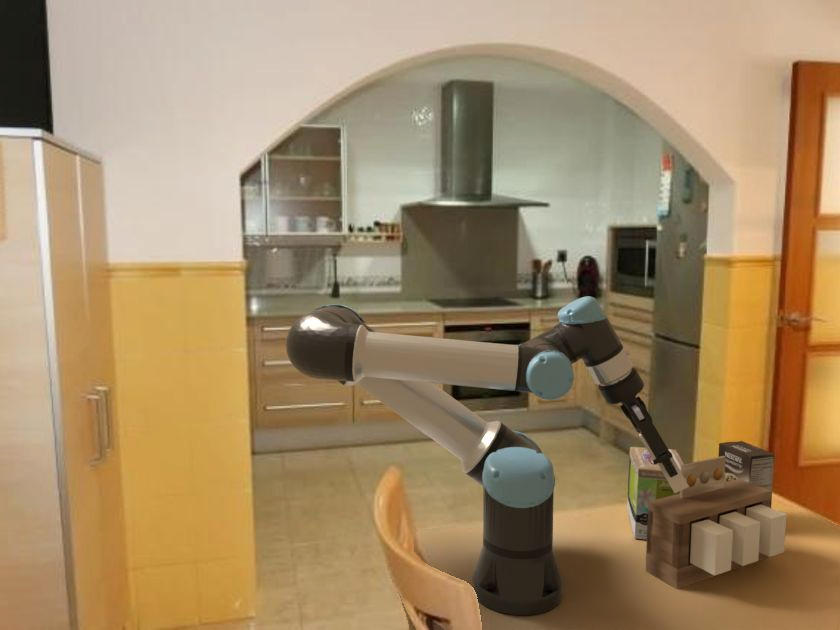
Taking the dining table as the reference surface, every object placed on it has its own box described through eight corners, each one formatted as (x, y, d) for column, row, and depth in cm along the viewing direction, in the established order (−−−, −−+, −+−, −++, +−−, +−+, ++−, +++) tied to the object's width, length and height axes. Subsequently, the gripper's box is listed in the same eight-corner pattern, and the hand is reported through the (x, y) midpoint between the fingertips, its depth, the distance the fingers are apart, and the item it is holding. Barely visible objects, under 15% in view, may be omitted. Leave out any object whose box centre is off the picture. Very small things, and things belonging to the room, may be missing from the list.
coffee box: (713, 515, 145) (717, 442, 143) (737, 511, 147) (741, 439, 145) (745, 532, 136) (750, 455, 134) (771, 528, 138) (775, 452, 136)
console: (645, 570, 121) (649, 469, 119) (735, 542, 132) (740, 448, 130) (676, 588, 115) (681, 481, 112) (768, 557, 126) (774, 459, 123)
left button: (689, 562, 116) (691, 523, 115) (706, 557, 117) (707, 519, 117) (714, 575, 111) (716, 535, 110) (730, 570, 113) (732, 530, 112)
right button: (744, 545, 122) (746, 508, 121) (758, 540, 124) (760, 504, 123) (769, 556, 118) (771, 518, 117) (784, 551, 119) (786, 514, 119)
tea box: (687, 544, 131) (690, 471, 130) (633, 540, 133) (636, 468, 132) (673, 513, 146) (676, 447, 144) (625, 509, 148) (628, 444, 146)
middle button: (717, 553, 119) (719, 515, 118) (733, 548, 121) (735, 511, 120) (742, 565, 114) (744, 526, 114) (758, 560, 116) (760, 522, 115)
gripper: (651, 384, 109) (712, 493, 111) (620, 351, 134) (671, 441, 135) (609, 405, 110) (670, 513, 112) (587, 369, 135) (637, 458, 137)
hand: (670, 474), depth 124 cm, fingers open, 13 cm apart
